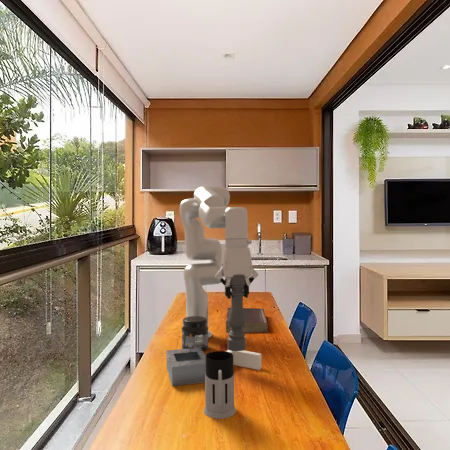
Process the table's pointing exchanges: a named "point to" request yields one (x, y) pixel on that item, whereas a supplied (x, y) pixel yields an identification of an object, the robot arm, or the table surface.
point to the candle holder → (237, 314)
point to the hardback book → (252, 320)
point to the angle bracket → (246, 359)
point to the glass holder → (219, 385)
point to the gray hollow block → (186, 366)
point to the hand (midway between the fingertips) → (237, 296)
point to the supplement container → (195, 333)
